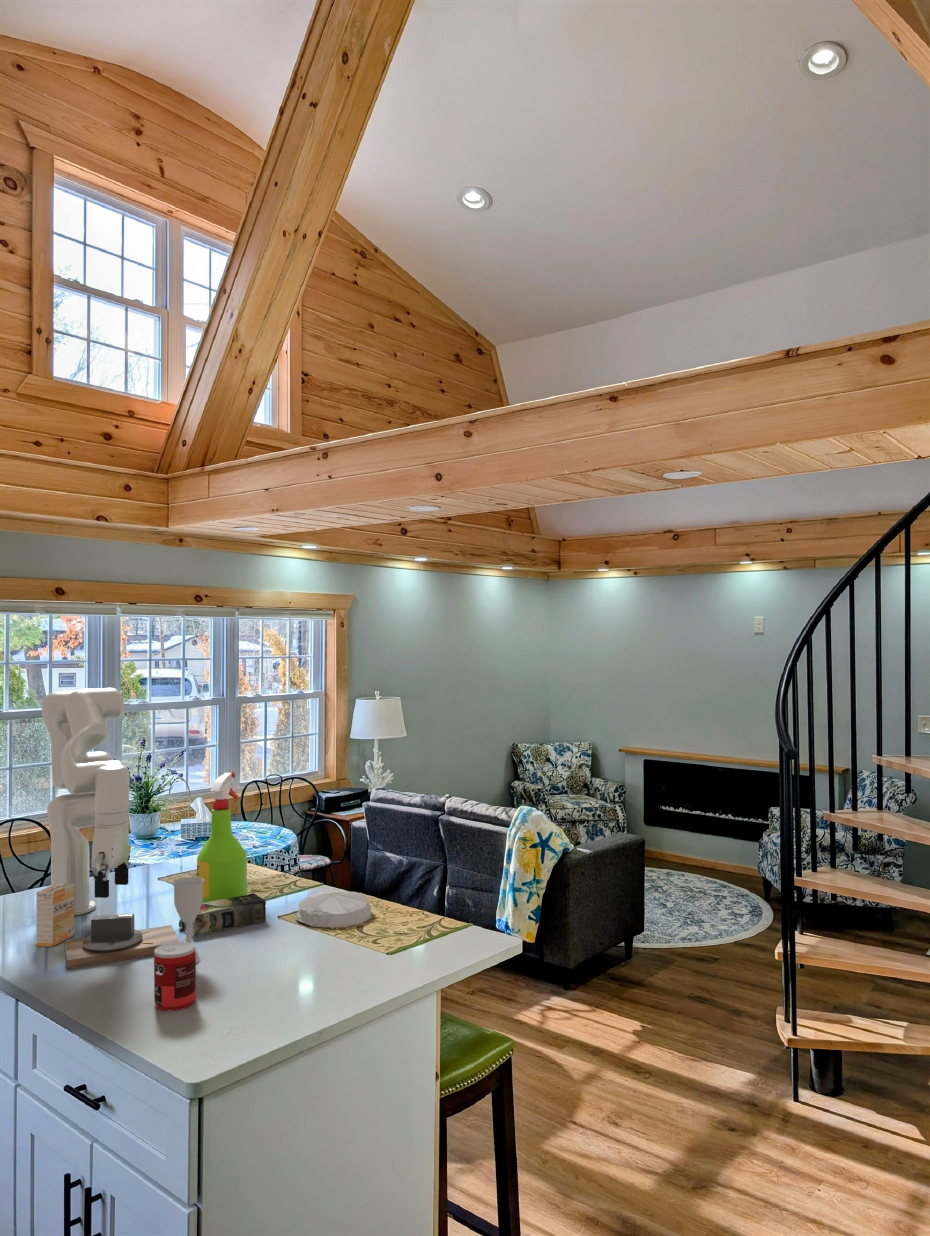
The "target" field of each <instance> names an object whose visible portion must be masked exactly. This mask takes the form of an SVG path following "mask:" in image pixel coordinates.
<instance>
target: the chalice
mask: <svg viewBox="0 0 930 1236" xmlns="http://www.w3.org/2000/svg"><path fill="white" fill-rule="evenodd" d="M203 882H204V879H203V878H199V877H197V876H192V877H191V876H188V877H187V876H186V877H180V878H177V879H174V880H172V881H171V884H172V886H173V891H174V892H173V893H174V894H173V896H174V897H173V898H174V899H173V903H174V907H175V910H176V912H177V914H178V916H179V918H180V920H182V922H185V923H186V926H187V927H186V930H184V933H185V934H186V936H185V939H184V942H189V943H192V941H193V940H194V939H193V938H194V937H192V936H191V932H192V929H191V922H193V921H195V919H196V917H197V914H198V912H199V910H200V907H201V904H202V884H203ZM195 953H196V964H197V963H199V962H200V961H201V960H202V959H201V958H200V955H199V953H198V951H197V950H196V949H195Z"/></svg>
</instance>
